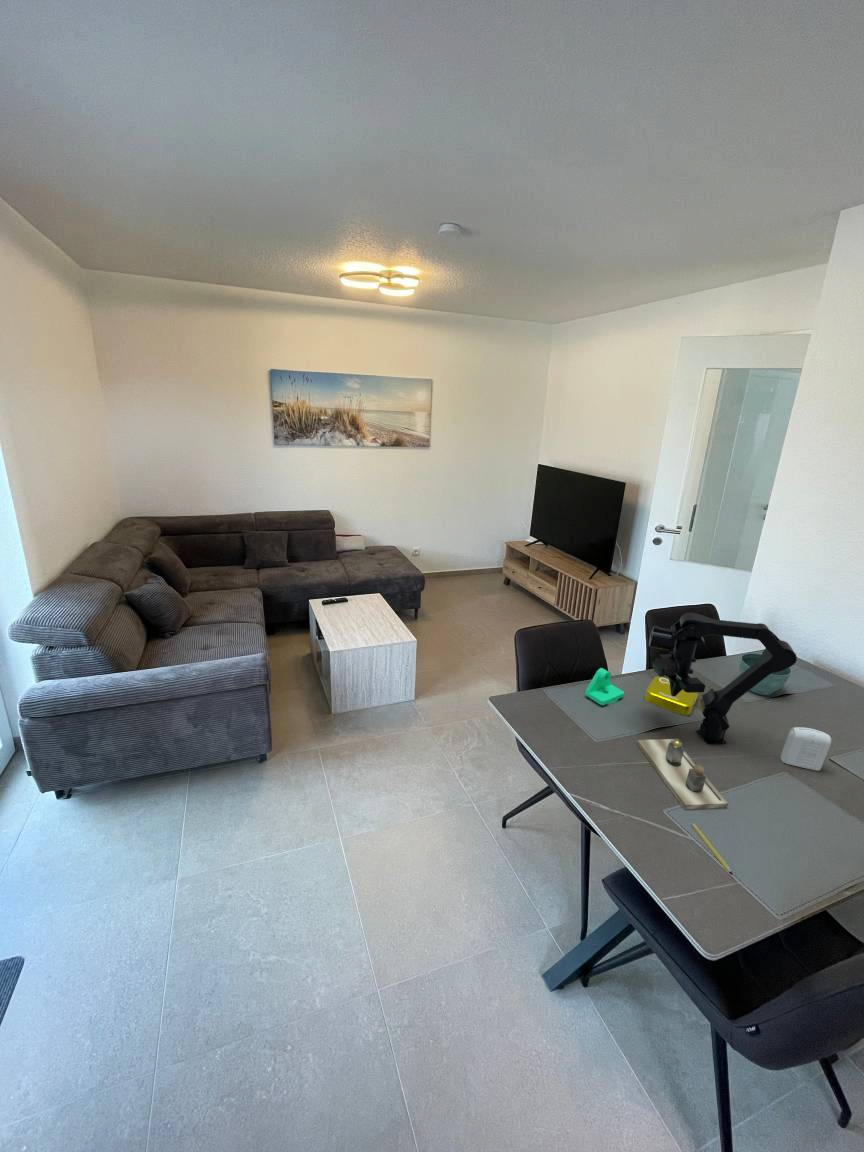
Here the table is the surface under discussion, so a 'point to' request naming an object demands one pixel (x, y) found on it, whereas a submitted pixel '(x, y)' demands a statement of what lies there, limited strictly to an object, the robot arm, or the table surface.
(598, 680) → the camera mount
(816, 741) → the photo printer
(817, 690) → the table surface
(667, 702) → the element tile
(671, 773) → the bolt plate
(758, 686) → the flower pot
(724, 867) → the pencil
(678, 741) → the sliding leg
